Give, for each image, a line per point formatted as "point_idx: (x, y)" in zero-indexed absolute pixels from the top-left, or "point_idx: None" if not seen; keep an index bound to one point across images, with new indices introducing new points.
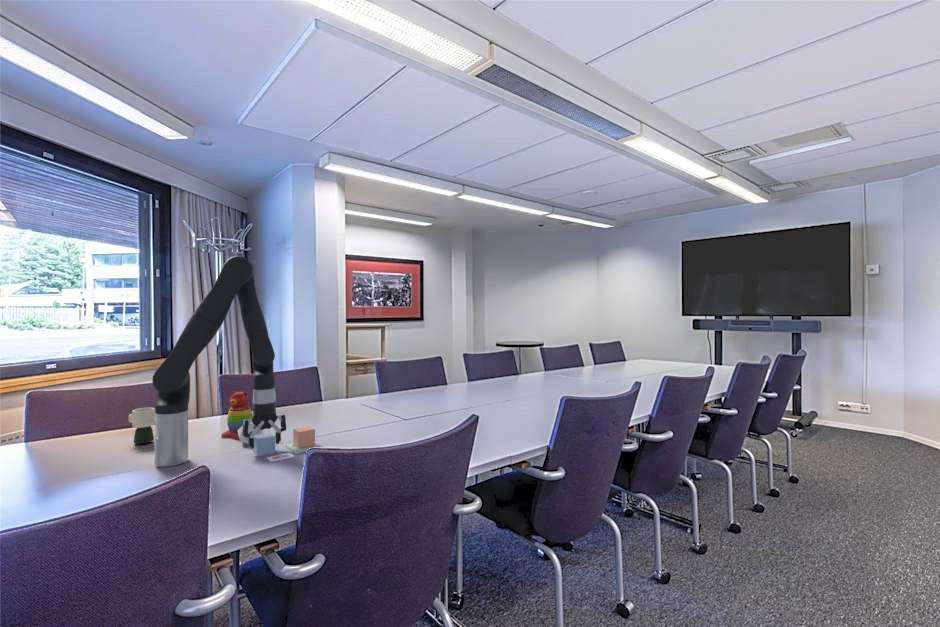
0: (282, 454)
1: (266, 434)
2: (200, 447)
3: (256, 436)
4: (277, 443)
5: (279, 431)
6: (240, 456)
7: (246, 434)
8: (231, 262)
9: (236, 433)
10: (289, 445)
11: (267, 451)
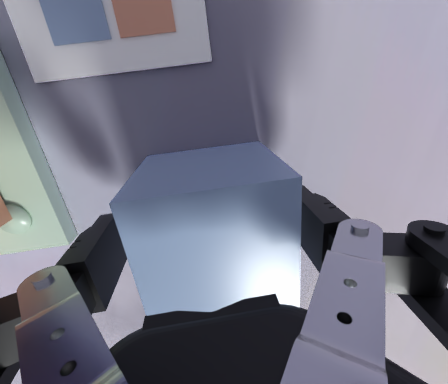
0: (94, 69)
1: (191, 305)
2: (418, 369)
3: (281, 281)
4: None
5: (40, 278)
6: (337, 187)
7: (441, 240)
8: None
9: None
10: (43, 218)
11: (196, 153)
